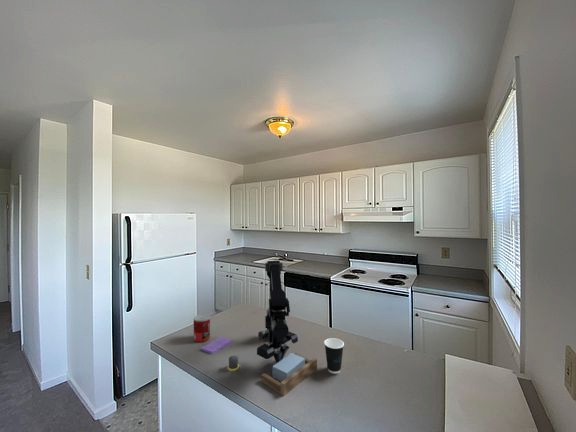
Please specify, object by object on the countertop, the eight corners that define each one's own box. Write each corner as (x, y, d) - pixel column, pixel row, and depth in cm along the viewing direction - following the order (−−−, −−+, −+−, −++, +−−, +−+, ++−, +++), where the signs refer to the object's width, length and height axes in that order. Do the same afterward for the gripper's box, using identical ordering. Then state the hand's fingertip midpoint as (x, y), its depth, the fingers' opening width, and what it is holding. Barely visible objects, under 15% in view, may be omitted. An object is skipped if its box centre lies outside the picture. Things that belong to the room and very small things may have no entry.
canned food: (205, 343, 124) (205, 320, 124) (190, 341, 125) (190, 319, 125) (212, 336, 131) (212, 314, 131) (198, 334, 133) (198, 313, 133)
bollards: (272, 342, 124) (272, 334, 124) (279, 345, 121) (279, 337, 121) (225, 368, 103) (225, 358, 103) (232, 372, 100) (232, 362, 100)
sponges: (201, 351, 117) (201, 347, 117) (221, 339, 128) (221, 336, 128) (211, 355, 114) (211, 351, 114) (231, 343, 124) (231, 339, 124)
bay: (295, 358, 110) (295, 349, 110) (317, 369, 102) (317, 359, 102) (261, 381, 95) (261, 370, 95) (283, 395, 87) (283, 384, 87)
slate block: (291, 363, 107) (291, 352, 107) (305, 369, 103) (305, 358, 103) (272, 377, 98) (272, 366, 98) (287, 385, 93) (287, 373, 93)
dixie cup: (339, 378, 96) (339, 350, 96) (320, 371, 101) (320, 344, 101) (347, 368, 103) (347, 341, 103) (329, 362, 107) (329, 336, 107)
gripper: (279, 314, 115) (279, 349, 115) (247, 328, 101) (247, 367, 101) (298, 321, 108) (298, 358, 108) (266, 337, 94) (267, 379, 94)
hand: (278, 365), depth 103 cm, fingers closed
